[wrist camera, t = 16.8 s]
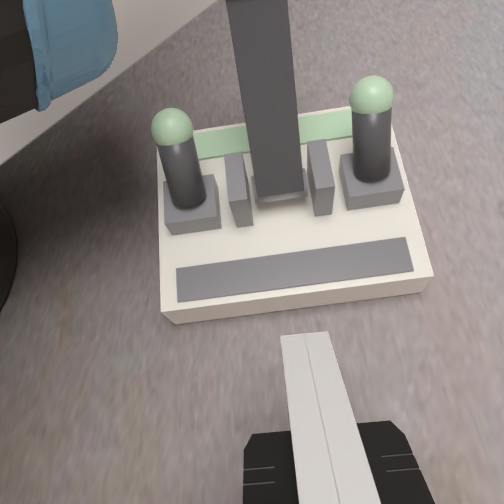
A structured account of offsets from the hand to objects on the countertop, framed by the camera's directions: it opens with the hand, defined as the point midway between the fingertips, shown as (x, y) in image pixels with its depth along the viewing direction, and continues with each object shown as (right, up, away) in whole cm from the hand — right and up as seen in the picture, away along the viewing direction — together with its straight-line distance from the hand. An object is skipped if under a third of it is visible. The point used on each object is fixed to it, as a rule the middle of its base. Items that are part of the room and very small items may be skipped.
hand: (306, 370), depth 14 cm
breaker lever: (0, +8, +11) cm, 13 cm away
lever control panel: (0, +6, +15) cm, 16 cm away
